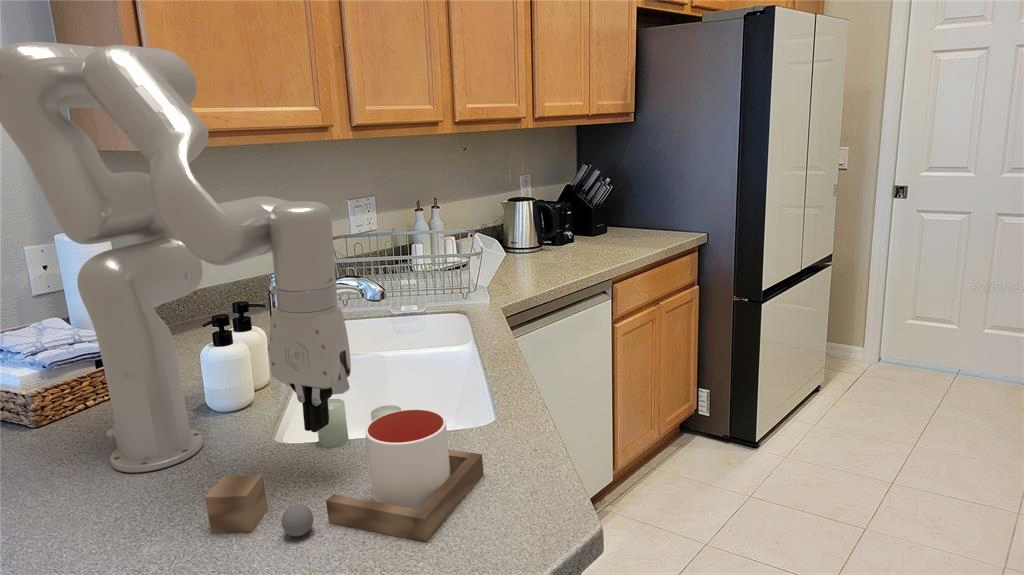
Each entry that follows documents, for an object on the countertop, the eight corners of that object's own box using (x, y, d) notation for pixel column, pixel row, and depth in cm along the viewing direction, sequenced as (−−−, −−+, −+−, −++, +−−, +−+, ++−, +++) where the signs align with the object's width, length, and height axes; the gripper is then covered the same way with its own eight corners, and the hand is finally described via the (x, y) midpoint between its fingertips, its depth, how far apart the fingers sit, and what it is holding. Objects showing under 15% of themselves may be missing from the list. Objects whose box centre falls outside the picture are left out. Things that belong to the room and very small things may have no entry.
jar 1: (313, 445, 105) (308, 408, 103) (330, 432, 109) (326, 397, 107) (337, 449, 103) (332, 411, 102) (354, 436, 107) (349, 400, 106)
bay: (328, 522, 84) (325, 500, 83) (397, 461, 99) (395, 441, 98) (426, 542, 79) (424, 519, 78) (483, 474, 94) (482, 454, 93)
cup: (451, 473, 94) (445, 405, 92) (452, 514, 85) (446, 439, 82) (377, 481, 93) (369, 412, 91) (370, 523, 84) (361, 447, 81)
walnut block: (211, 534, 83) (204, 497, 82) (229, 511, 88) (223, 475, 87) (252, 533, 83) (246, 496, 82) (268, 510, 88) (262, 474, 87)
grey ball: (277, 539, 81) (272, 512, 80) (297, 522, 85) (293, 496, 84) (302, 545, 80) (298, 517, 79) (321, 527, 83) (317, 501, 82)
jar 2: (369, 454, 101) (364, 416, 100) (385, 440, 105) (381, 404, 104) (395, 458, 100) (391, 419, 98) (410, 444, 104) (406, 407, 102)
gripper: (240, 299, 89) (254, 429, 94) (337, 312, 84) (346, 450, 88) (280, 285, 96) (291, 407, 101) (372, 296, 90) (379, 425, 95)
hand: (317, 427), depth 94 cm, fingers closed
